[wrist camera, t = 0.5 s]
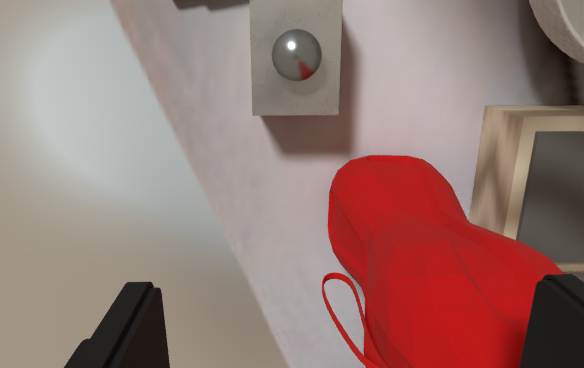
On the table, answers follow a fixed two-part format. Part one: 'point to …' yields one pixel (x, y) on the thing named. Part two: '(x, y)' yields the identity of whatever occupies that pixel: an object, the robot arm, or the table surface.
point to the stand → (533, 179)
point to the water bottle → (427, 270)
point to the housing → (295, 56)
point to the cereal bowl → (562, 24)
